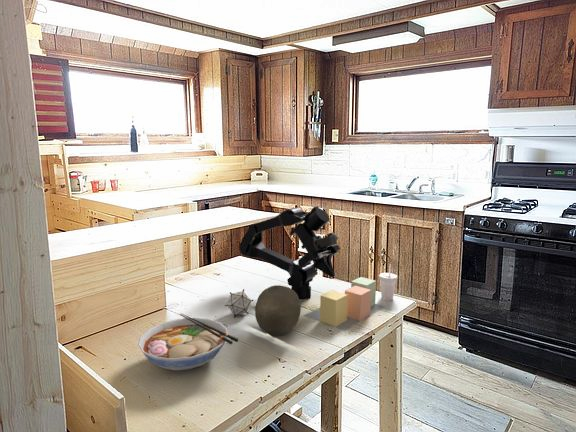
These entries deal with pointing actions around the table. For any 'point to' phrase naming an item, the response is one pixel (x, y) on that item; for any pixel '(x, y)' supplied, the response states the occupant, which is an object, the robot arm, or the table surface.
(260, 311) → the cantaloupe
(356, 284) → the sage block
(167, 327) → the ramen bowl
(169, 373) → the table surface
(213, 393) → the table surface
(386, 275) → the smoothie
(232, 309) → the grey spiked polyhedron
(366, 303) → the terracotta block
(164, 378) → the table surface
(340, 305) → the mustard block
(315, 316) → the grey mat
